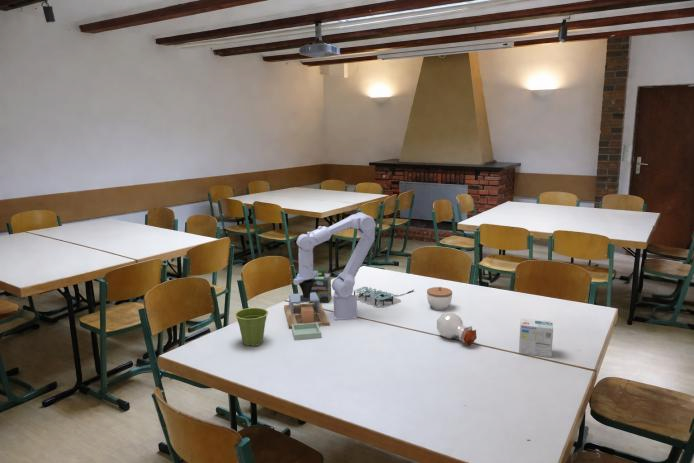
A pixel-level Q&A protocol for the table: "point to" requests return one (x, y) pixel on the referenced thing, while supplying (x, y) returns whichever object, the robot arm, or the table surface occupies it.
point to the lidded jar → (439, 297)
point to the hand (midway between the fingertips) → (306, 297)
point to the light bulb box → (536, 337)
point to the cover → (303, 300)
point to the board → (296, 317)
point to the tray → (306, 331)
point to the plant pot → (252, 325)
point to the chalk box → (322, 286)
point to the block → (307, 314)
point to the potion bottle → (455, 328)
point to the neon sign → (376, 297)
